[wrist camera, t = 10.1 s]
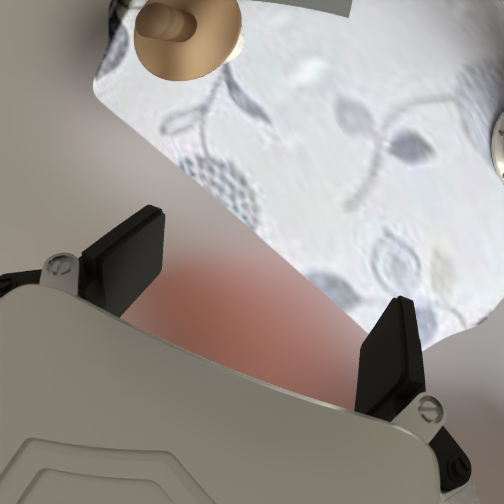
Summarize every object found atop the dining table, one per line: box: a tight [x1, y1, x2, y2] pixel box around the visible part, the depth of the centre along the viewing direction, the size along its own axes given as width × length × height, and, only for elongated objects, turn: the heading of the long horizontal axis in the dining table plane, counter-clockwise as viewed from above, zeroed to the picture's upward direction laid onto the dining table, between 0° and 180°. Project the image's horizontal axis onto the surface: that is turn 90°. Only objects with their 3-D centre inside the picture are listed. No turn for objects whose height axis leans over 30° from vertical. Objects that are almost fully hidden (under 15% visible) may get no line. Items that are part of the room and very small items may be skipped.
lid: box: [134, 0, 241, 81], centre depth 20 cm, size 11×11×6 cm
